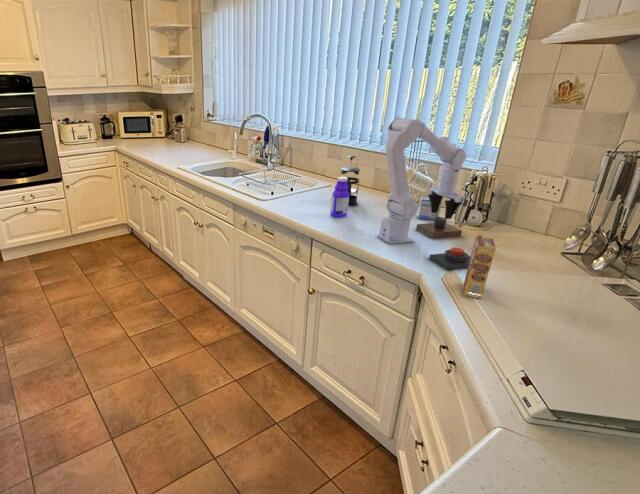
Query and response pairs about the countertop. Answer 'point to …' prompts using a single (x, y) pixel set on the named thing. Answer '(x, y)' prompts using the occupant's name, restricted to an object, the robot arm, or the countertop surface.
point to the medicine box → (426, 209)
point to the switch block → (451, 260)
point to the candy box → (479, 265)
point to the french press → (351, 182)
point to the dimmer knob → (439, 222)
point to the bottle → (340, 198)
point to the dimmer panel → (438, 231)
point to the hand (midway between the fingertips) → (441, 215)
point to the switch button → (457, 251)
